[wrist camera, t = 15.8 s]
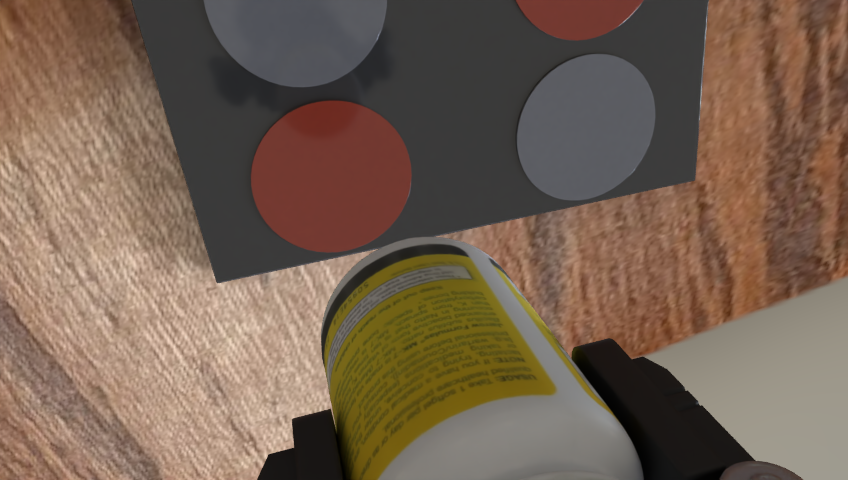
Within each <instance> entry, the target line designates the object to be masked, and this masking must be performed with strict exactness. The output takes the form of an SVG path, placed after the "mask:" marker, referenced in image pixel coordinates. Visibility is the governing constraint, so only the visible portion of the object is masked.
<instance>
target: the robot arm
mask: <svg viewBox="0 0 848 480" xmlns="http://www.w3.org/2000/svg"><path fill="white" fill-rule="evenodd" d="M572 361H573V362H574V363H575V364H576V366H577V367H578V368H579V370H580V371H581V372H582V374H583V375H584V376H585V378H586V379H587V380H588V382H589V383H590V384H591V385H592V387H593V388H594V389H595V391H596V392H597V393H598V394H599V396H600V397H601V398H602V400H603V401H604V402H605V403H606V405H607V406H608V407H609V409H610V410H611V411H612V412H613V414H614V415H615V416H616V418H617V419H618V421H619V422H620V423H621V425H622V426H623V428H624V429H625V431H626V433H627V434H628V436H629V438H630V439H631V441H632V443H633V445H634V447H635V449H636V451H637V454H638V456H639V459H640V462H641V466H642V470H643V476H644V480H803V479H802V478H801V477H799V476H798V475H796V474H795V473H793V472H792V471H790V470H788V469H786V468H783V467H781V466H778V465H775V464H771V463H768V462H762V461H755V460H754V459H753V458H752V457H751V456H750V455H749V454H748V453H747V452H746V451H745V449H744V448H743V447H742V446H741V445H740V444H739V443H738V442H737V441H736V440H735V439H734V438H733V437H732V436H731V435H730V434H729V433H728V432H727V431H726V430H725V429H724V428H723V427H722V426H721V425H720V424H719V423H718V422H717V421H716V420H715V419H714V417H713V416H712V415H711V414H710V413H709V412H708V411H707V410H706V409H705V408H704V407H703V406H700V405H699V403H698V401H697V400H696V399H695V398H694V397H693V396H692V395H691V394H690V392H688V391H685V388H684V386H683V385H682V384H681V383H680V382H679V381H678V380H677V379H676V378H675V377H674V376H673V375H672V374H671V373H670V372H669V371H668V370H667V369H665V368H664V367H662V366H660V365H658V364H656V363H654V362H652V361H650V360H648V359H647V358H645V357H639V358H636V359H631V358H630V357H629V356H628V355H627V354H626V353H625V352H624V351H623V349H622V348H621V347H620V346H619V345H618V344H617V343H616V342H615V341H614V340H613V339H610V338H608V339H604V340H600V341H596V342H593V343H589V344H585V345H581V346H577V347H574V348H573V351H572ZM292 427H293V438H294V448H291V449H287V450H284V451H280V452H276V453H272V454H269V455H268V457H267V459H266V461H265V464H264V466H263V468H262V470H261V472H260V474H259V477H258V479H257V480H345V477H344V471H343V465H342V460H341V454H340V449H339V443H338V438H337V433H336V428H335V424H334V420H333V416H332V412H331V409H328V410H324V411H320V412H317V413H313V414H309V415H305V416H301V417H297V418H293V419H292Z"/></svg>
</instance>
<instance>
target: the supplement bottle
mask: <svg viewBox="0 0 848 480" xmlns="http://www.w3.org/2000/svg"><path fill="white" fill-rule="evenodd" d="M321 346H322V359H323V364H324V367H325V372H326V377H327V382H328V388H329V394H330V399H331V403H332V409H333V414H334V420H335V427H336V433H337V438H338V443H339V449H340V454H341V460H342V465H343V471H344V477H345V480H644V476H643V470H642V466H641V462H640V459H639V456H638V454H637V451H636V449H635V447H634V445H633V443H632V441H631V439H630V438H629V436H628V434H627V433H626V431H625V429H624V428H623V426H622V425H621V423H620V422H619V421H618V419H617V418H616V416H615V415H614V414H613V412H612V411H611V410H610V409H609V407H608V406H607V405H606V403H605V402H604V401H603V400H602V398H601V397H600V396H599V394H598V393H597V392H596V391H595V389H594V388H593V387H592V385H591V384H590V383H589V382H588V380H587V379H586V378H585V376H584V375H583V374H582V372H581V371H580V370H579V368H578V367H577V366H576V364H575V363H574V362H573V361H572V359H571V358H570V356H569V355H568V354H567V352H566V351H565V350H564V348H563V347H562V346H561V345H560V343H559V342H558V341H557V339H556V338H555V337H554V335H553V334H552V332H551V331H550V330H549V329H548V327H547V326H546V325H545V324H544V322H543V321H542V320H541V318H540V317H539V316H538V314H537V313H536V312H535V310H534V309H533V308H532V306H531V305H530V304H529V303H528V301H527V300H526V298H525V297H524V296H523V294H522V293H521V292H520V291H519V290H518V288H517V287H516V286H515V284H514V283H513V282H512V281H511V279H510V278H509V277H508V275H507V274H506V272H505V271H504V270H503V269H502V268H501V267H500V266H499V264H498V263H497V262H496V261H495V260H494V259H493V258H491V257H490V256H489V255H487V254H486V253H485V252H483V251H481V250H480V249H478V248H476V247H474V246H472V245H470V244H467V243H464V242H461V241H457V240H453V239H448V238H441V237H417V238H409V239H405V240H401V241H397V242H394V243H392V244H389V245H387V246H384V247H382V248H380V249H378V250H376V251H374V252H373V253H371V254H369V255H368V256H366V257H365V258H363V259H362V260H361V261H359V262H358V263H357V264H356V265H355V266H354V267H353V268H352V269H351V270H350V271H349V272H348V273H347V274H346V275H345V276H344V277H343V279H342V280H341V281H340V283H339V284H338V285H337V287H336V289H335V290H334V292H333V294H332V296H331V297H330V300H329V302H328V305H327V307H326V310H325V313H324V317H323V322H322V329H321Z"/></svg>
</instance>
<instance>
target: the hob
mask: <svg viewBox="0 0 848 480" xmlns="http://www.w3.org/2000/svg"><path fill="white" fill-rule="evenodd" d="M131 2H132V5H133V8H134V11H135V15H136V18H137V21H138V25H139V28H140V31H141V35H142V38H143V41H144V45H145V48H146V51H147V54H148V58H149V61H150V64H151V68H152V71H153V74H154V78H155V81H156V84H157V88H158V91H159V94H160V97H161V101H162V104H163V107H164V111H165V114H166V117H167V121H168V124H169V127H170V130H171V134H172V137H173V140H174V144H175V147H176V150H177V154H178V157H179V160H180V164H181V167H182V170H183V173H184V177H185V180H186V183H187V187H188V190H189V193H190V197H191V200H192V203H193V207H194V210H195V213H196V216H197V220H198V223H199V226H200V230H201V233H202V236H203V240H204V243H205V246H206V249H207V253H208V256H209V259H210V263H211V266H212V269H213V273H214V276H215V279H216V282H217V283H222V282H226V281H231V280H235V279H240V278H245V277H249V276H254V275H259V274H263V273H268V272H273V271H277V270H282V269H286V268H291V267H296V266H300V265H305V264H310V263H314V262H319V261H324V260H328V259H333V258H338V257H342V256H347V255H351V254H356V253H361V252H365V251H370V250H375V249H379V248H382V247H384V246H387V245H389V244H392V243H394V242H397V241H401V240H405V239H409V238H417V237H435V236H440V235H444V234H449V233H454V232H458V231H463V230H467V229H472V228H477V227H481V226H486V225H491V224H495V223H500V222H505V221H509V220H514V219H519V218H523V217H528V216H532V215H537V214H542V213H546V212H551V211H556V210H560V209H565V208H570V207H574V206H579V205H583V204H588V203H593V202H597V201H602V200H607V199H611V198H616V197H621V196H625V195H630V194H635V193H639V192H644V191H648V190H653V189H658V188H662V187H667V186H672V185H676V184H681V183H686V182H690V181H694V180H695V175H696V162H697V149H698V135H699V122H700V109H701V96H702V82H703V69H704V56H705V42H706V29H707V16H708V2H709V0H131Z"/></svg>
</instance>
